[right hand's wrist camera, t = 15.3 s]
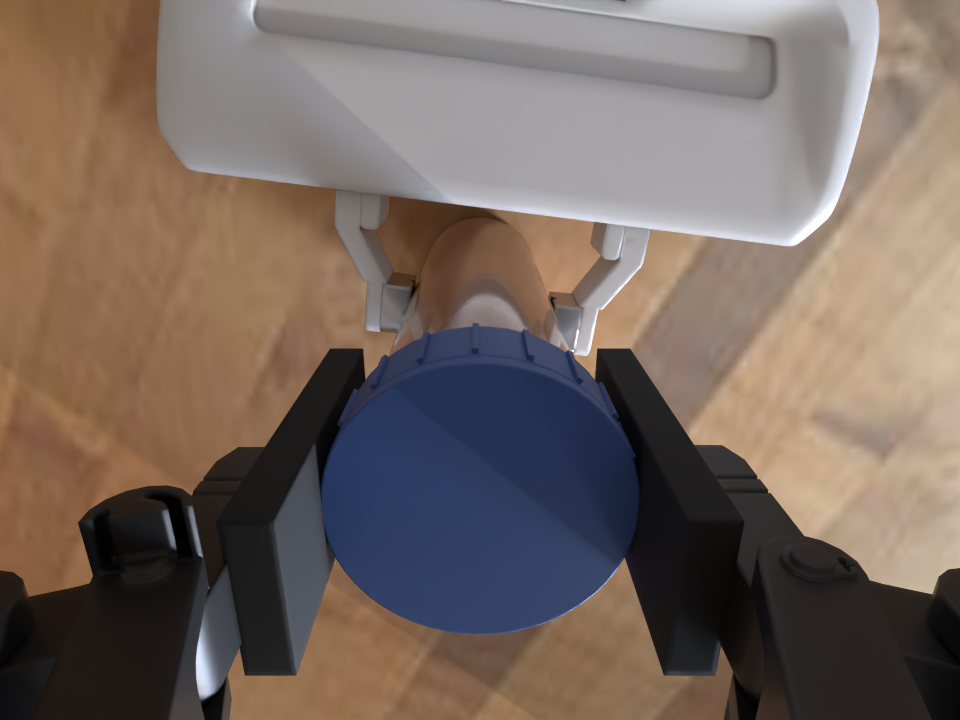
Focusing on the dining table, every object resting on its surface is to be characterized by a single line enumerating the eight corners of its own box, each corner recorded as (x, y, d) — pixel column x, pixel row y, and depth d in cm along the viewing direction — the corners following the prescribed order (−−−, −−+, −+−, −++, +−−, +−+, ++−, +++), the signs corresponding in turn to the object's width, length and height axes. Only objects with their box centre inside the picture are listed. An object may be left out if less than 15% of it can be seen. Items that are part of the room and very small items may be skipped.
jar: (539, 220, 26) (634, 379, 10) (529, 326, 28) (598, 609, 12) (427, 214, 26) (339, 364, 10) (425, 321, 28) (347, 599, 12)
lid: (640, 329, 11) (670, 367, 9) (602, 573, 13) (621, 644, 11) (335, 313, 11) (308, 350, 9) (344, 563, 13) (323, 632, 11)
